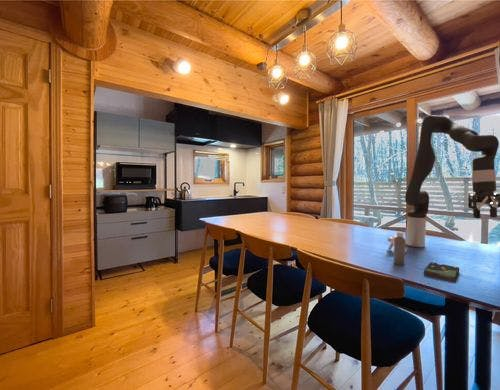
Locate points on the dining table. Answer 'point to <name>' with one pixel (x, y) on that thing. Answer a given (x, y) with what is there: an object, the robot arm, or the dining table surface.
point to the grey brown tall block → (399, 250)
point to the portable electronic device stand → (392, 243)
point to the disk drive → (442, 271)
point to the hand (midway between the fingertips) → (485, 217)
